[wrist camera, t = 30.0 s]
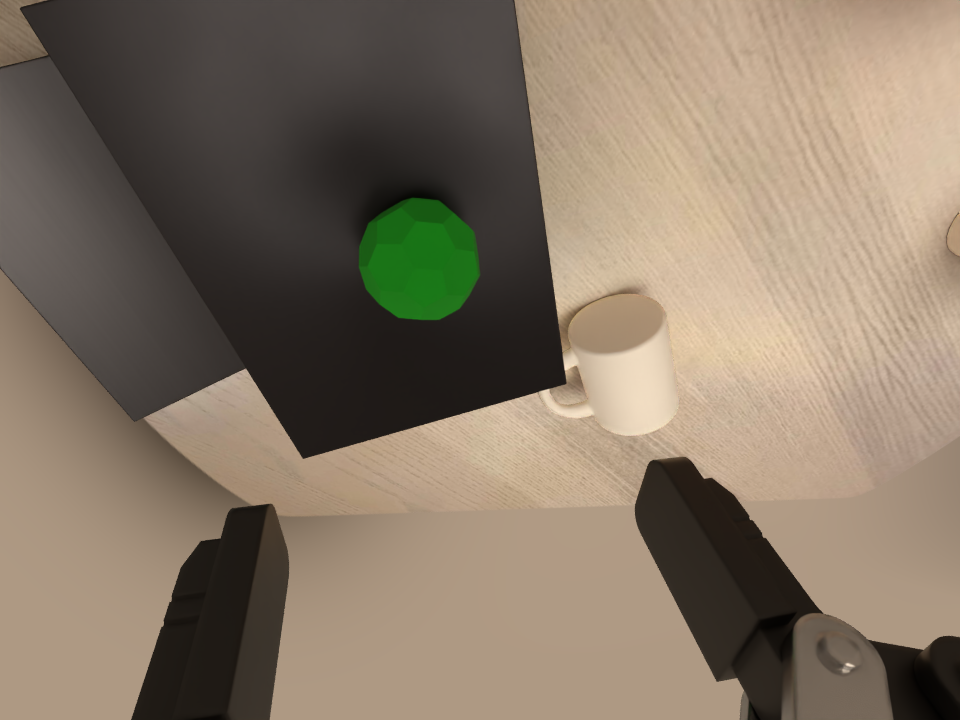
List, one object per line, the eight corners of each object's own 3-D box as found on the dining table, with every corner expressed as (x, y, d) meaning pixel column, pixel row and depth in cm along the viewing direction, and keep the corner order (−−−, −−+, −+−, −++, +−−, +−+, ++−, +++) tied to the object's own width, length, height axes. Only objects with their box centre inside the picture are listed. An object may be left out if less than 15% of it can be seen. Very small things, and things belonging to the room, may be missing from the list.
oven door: (135, 38, 31) (-97, 96, 27) (139, 32, 26) (-146, 103, 22) (279, 309, 43) (132, 376, 39) (301, 342, 38) (134, 422, 34)
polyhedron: (491, 235, 23) (516, 280, 20) (421, 306, 25) (431, 362, 21) (409, 158, 21) (419, 193, 17) (337, 243, 22) (331, 293, 19)
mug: (639, 281, 44) (685, 328, 38) (655, 363, 50) (697, 416, 44) (513, 333, 45) (537, 388, 39) (543, 408, 51) (568, 466, 45)
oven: (166, 4, 28) (17, 7, 16) (443, -68, 29) (498, -118, 17) (321, 325, 41) (302, 459, 29) (509, 273, 42) (566, 384, 30)
